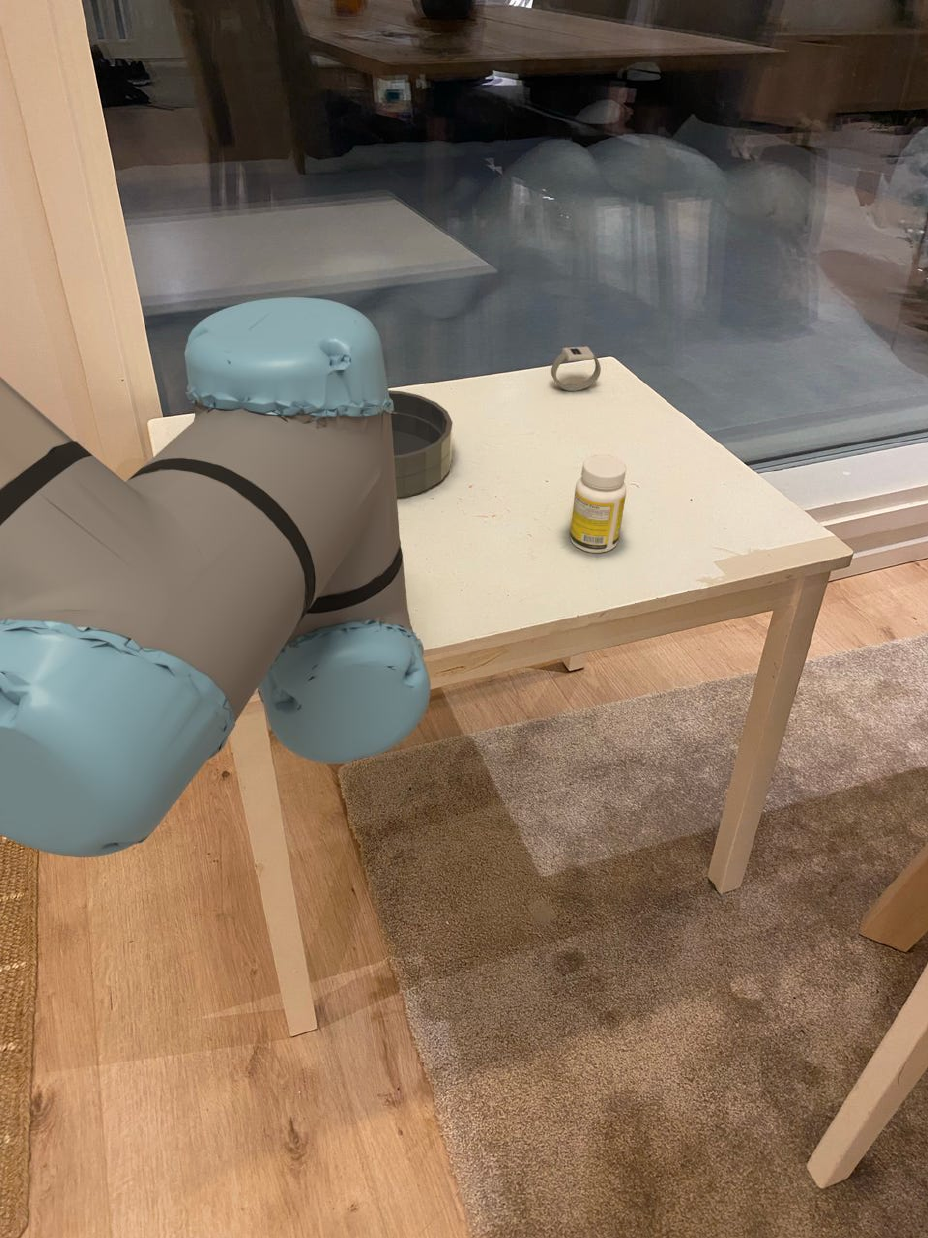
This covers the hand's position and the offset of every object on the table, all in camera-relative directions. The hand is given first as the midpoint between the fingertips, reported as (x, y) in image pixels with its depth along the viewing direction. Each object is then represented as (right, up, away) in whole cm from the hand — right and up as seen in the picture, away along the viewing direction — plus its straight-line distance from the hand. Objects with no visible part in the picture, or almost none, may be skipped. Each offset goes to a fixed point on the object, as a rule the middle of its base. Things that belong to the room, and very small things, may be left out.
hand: (251, 370), depth 67 cm
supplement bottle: (+29, -11, +19) cm, 37 cm away
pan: (+7, -2, +29) cm, 30 cm away
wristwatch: (+30, +10, +45) cm, 55 cm away
